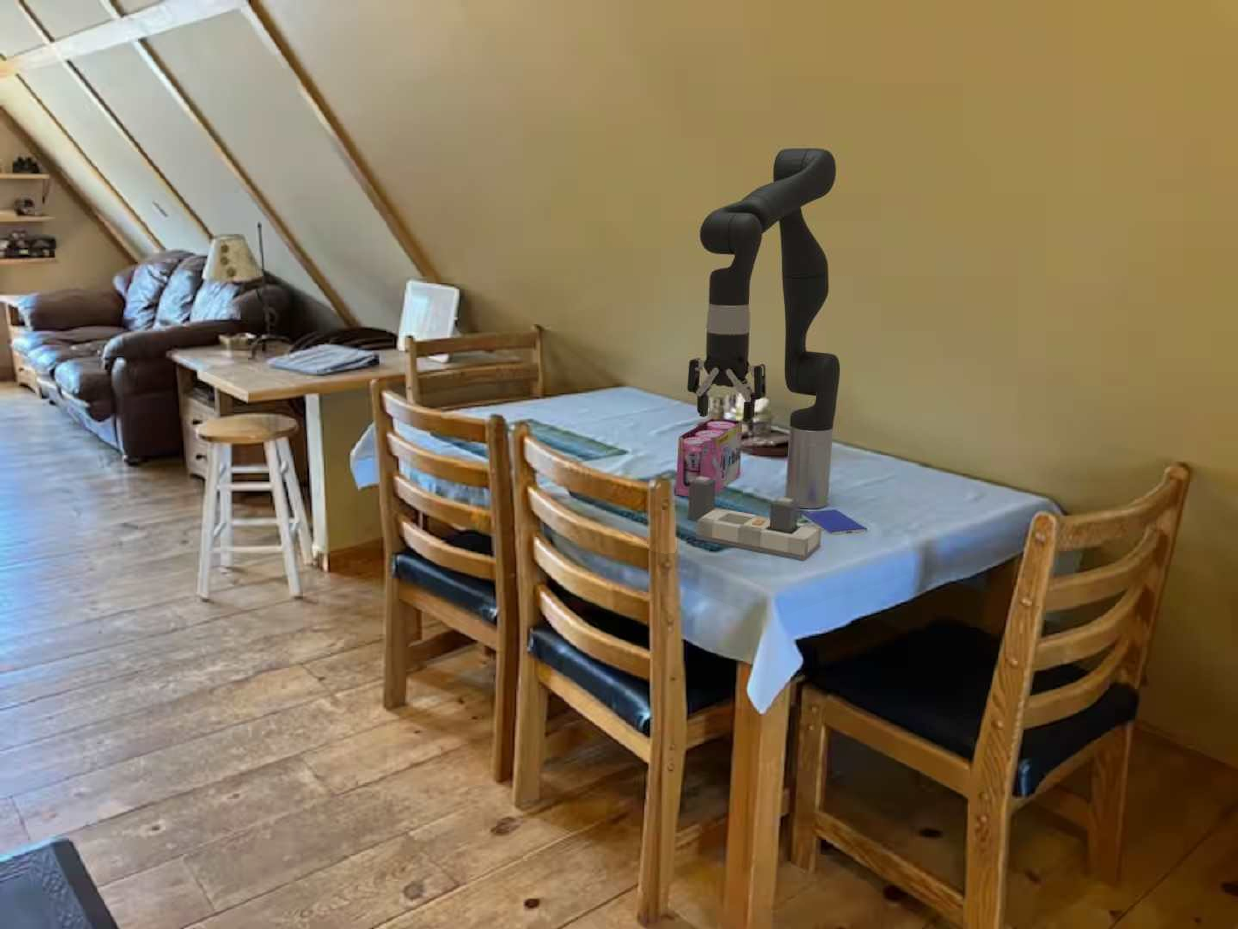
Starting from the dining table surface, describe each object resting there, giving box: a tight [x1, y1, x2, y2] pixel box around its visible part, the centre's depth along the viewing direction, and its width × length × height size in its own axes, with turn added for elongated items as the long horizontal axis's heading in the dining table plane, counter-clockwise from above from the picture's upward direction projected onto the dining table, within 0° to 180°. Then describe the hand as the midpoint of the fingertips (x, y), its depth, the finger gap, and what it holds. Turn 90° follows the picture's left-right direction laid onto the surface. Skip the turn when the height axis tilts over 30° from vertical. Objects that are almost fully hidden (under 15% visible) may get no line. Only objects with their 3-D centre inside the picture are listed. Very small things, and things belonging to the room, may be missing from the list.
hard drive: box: [801, 509, 868, 536], centre depth 204 cm, size 2×8×12 cm
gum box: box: [675, 417, 743, 498], centre depth 228 cm, size 24×8×14 cm, turn 155°
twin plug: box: [769, 497, 799, 534], centre depth 189 cm, size 4×4×9 cm
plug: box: [687, 476, 716, 522], centre depth 206 cm, size 4×4×9 cm
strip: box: [696, 507, 822, 561], centre depth 192 cm, size 22×9×4 cm, turn 60°
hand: (725, 418), depth 179 cm, fingers open, 8 cm apart
